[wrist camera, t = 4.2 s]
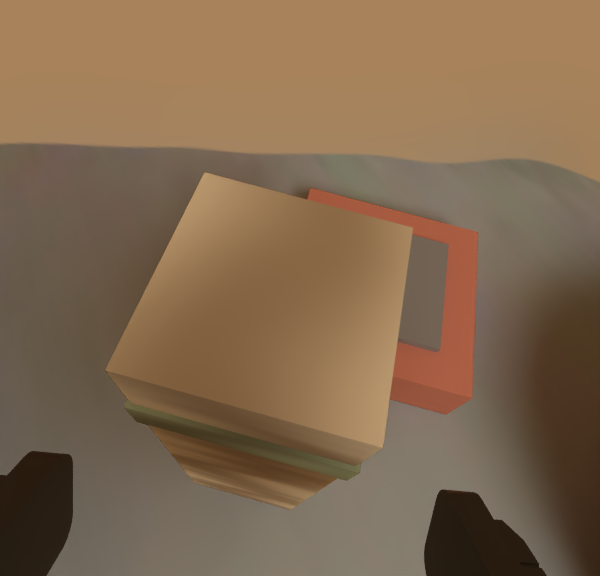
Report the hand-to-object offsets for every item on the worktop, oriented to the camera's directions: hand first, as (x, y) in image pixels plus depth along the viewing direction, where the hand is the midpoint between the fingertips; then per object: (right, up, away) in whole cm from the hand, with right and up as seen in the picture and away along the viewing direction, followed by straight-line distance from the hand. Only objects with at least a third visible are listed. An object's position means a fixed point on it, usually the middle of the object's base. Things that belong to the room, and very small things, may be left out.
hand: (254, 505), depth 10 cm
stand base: (+5, +4, +16) cm, 17 cm away
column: (-1, -3, +11) cm, 12 cm away
